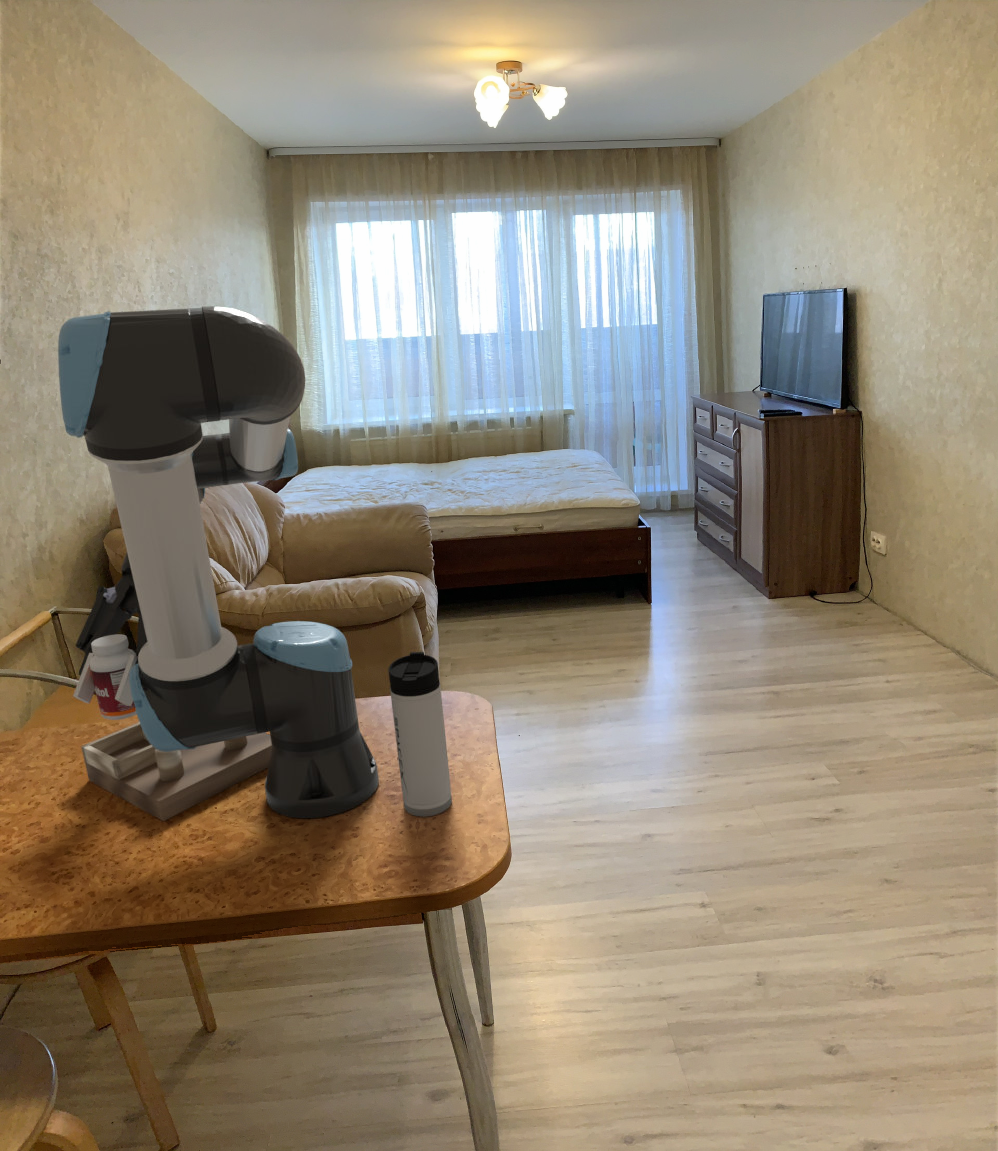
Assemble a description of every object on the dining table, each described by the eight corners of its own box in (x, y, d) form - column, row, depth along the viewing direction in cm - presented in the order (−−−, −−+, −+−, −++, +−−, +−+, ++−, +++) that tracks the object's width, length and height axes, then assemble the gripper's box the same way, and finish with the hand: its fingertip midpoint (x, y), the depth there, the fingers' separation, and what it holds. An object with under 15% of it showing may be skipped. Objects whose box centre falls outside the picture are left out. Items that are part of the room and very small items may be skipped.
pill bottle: (95, 712, 127) (79, 640, 124) (139, 698, 131) (124, 628, 128) (108, 725, 122) (92, 651, 119) (153, 711, 126) (138, 638, 123)
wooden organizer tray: (286, 757, 131) (279, 714, 129) (163, 821, 116) (153, 773, 114) (208, 726, 143) (201, 686, 141) (88, 780, 128) (79, 736, 126)
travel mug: (455, 790, 118) (441, 650, 112) (448, 817, 112) (433, 670, 106) (409, 791, 119) (393, 652, 113) (399, 818, 112) (382, 672, 107)
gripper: (223, 567, 133) (176, 714, 123) (116, 565, 138) (63, 706, 128) (196, 542, 126) (144, 695, 116) (85, 542, 132) (27, 688, 122)
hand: (102, 700), depth 122 cm, fingers closed on pill bottle, 6 cm apart
